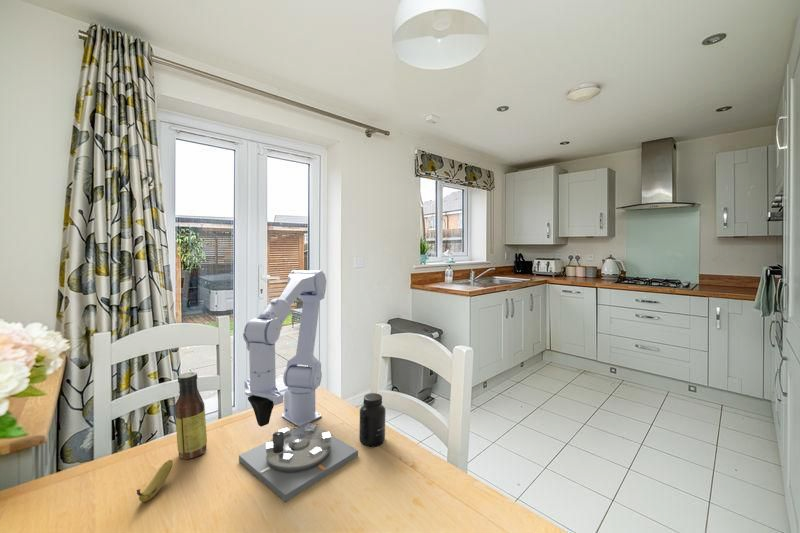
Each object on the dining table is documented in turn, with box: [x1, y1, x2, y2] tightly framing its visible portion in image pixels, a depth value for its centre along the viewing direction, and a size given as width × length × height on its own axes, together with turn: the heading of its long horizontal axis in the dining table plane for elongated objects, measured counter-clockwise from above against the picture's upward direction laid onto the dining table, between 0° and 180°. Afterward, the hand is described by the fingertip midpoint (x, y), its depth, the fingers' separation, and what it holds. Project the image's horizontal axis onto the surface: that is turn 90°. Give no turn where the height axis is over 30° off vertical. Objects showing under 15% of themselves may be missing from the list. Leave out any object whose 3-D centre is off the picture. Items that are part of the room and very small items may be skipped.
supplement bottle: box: [358, 392, 387, 448], centre depth 91 cm, size 7×7×12 cm
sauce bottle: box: [174, 371, 208, 460], centre depth 85 cm, size 6×6×20 cm
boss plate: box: [238, 422, 359, 503], centre depth 84 cm, size 20×20×2 cm
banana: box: [135, 459, 174, 503], centre depth 72 cm, size 10×2×4 cm, turn 0°
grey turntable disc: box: [266, 423, 331, 472], centre depth 84 cm, size 15×15×7 cm
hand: (263, 424), depth 83 cm, fingers closed
